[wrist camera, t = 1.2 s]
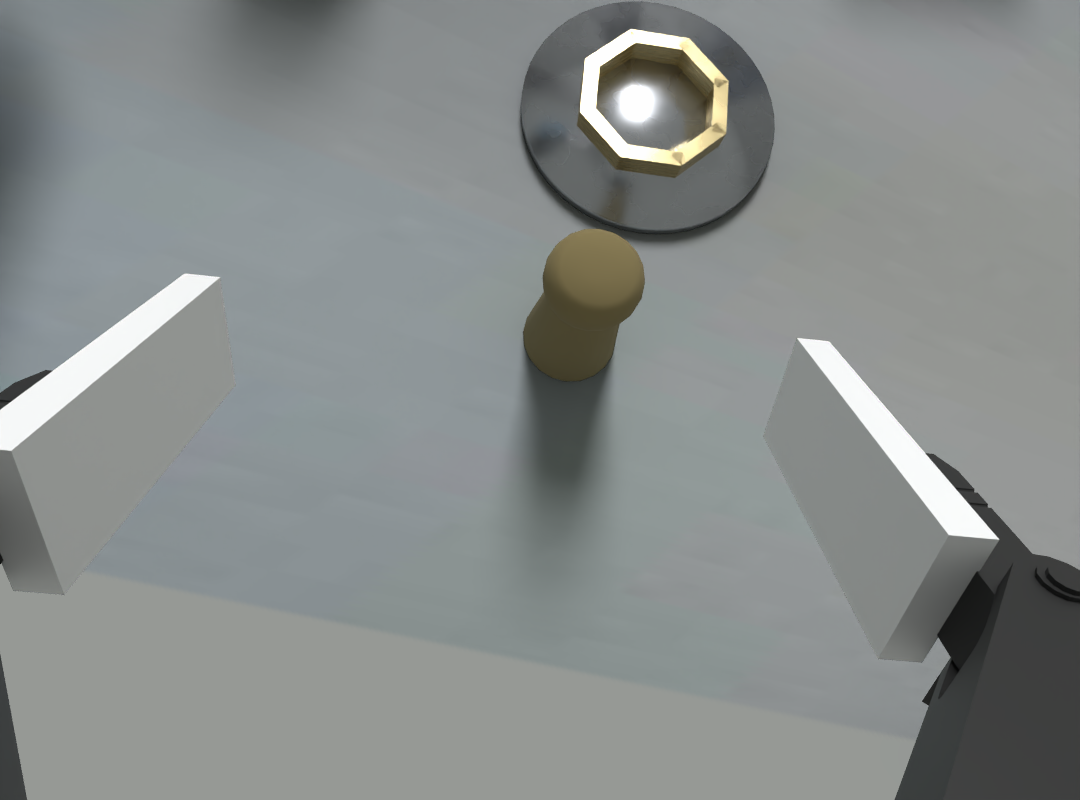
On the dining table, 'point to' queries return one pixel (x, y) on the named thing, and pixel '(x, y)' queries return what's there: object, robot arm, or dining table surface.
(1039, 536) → the dining table surface
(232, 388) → the robot arm
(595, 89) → the ring plate
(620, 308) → the cork
